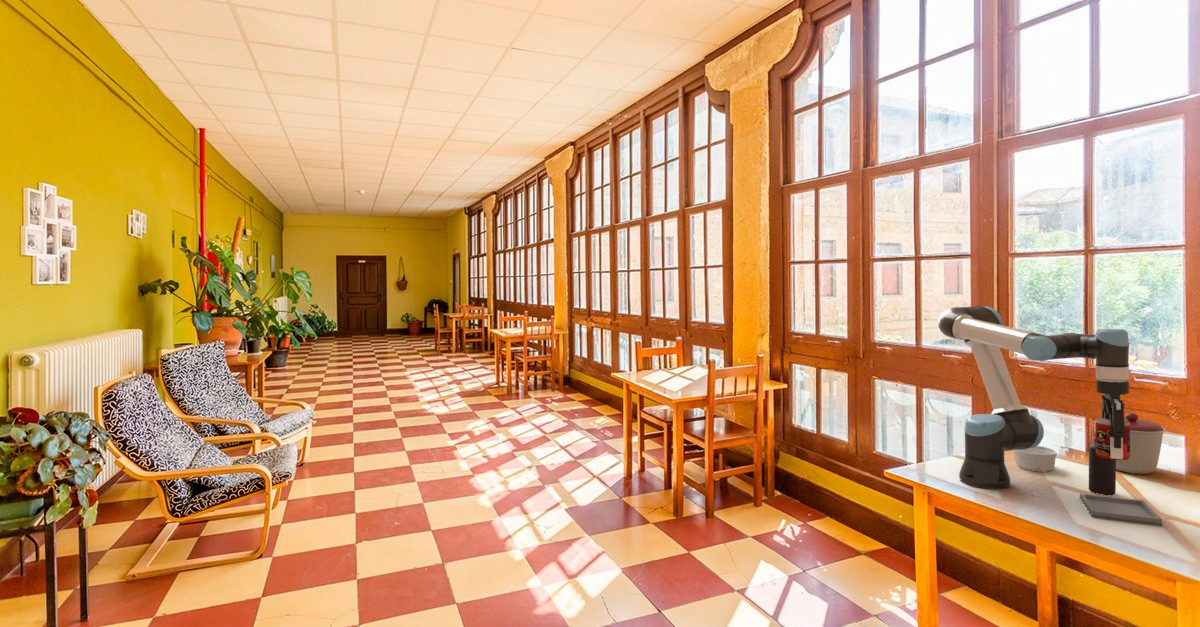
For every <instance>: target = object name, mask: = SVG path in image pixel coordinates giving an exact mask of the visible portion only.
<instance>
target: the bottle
mask: <svg viewBox="0 0 1200 627" xmlns="http://www.w3.org/2000/svg"><path fill="white" fill-rule="evenodd" d="M1092 439H1093V441H1094V442H1093V443H1091V444H1090V445H1089V448H1088V449H1089V450H1088V491H1089V490H1090V491H1089V492H1091V493H1093V492H1094V494H1096V493H1098V494H1097V495H1100V494H1103V495H1102V496H1108V495H1111V496H1116V489H1117V488H1116V486H1117V484H1116V483H1117V482H1116V480H1117V479H1116V478H1117V470H1116V460H1112V459H1106V458H1102V457H1099V456H1097V454H1096V431H1095V430H1094V431H1093V432H1092Z"/></svg>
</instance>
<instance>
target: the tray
mask: <svg viewBox="0 0 1200 627" xmlns="http://www.w3.org/2000/svg"><path fill="white" fill-rule="evenodd" d="M1080 499H1081V501H1082V502H1083V503H1082V502H1081V501H1080V502H1081V503H1082V504H1084V505H1085V506H1084V505H1083V506H1084V508H1085V507H1086V508H1087V509H1086V508H1085V509H1086V511H1087V512H1088V511H1089V512H1088V514H1089V515H1090V514H1091V515H1090V517H1091V518H1093V517H1094V518H1095V519H1100V518H1101V520H1102V519H1103V520H1110V521H1116V522H1124V523H1134V524H1142V525H1148V526H1149V525H1150V526H1156V527H1162V526H1163V519H1162V517H1161V516H1159V515H1158V514H1157V513H1156V511H1154V510H1153V508H1152V507H1151V506H1149V505H1148V504H1147V503H1146V502H1145V500H1144V499H1143V500H1142V499H1132V498H1124V497H1116V496H1114V497H1113V496H1108V495H1099V494H1089V493H1079V500H1080Z"/></svg>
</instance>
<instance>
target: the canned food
mask: <svg viewBox="0 0 1200 627" xmlns="http://www.w3.org/2000/svg"><path fill="white" fill-rule="evenodd" d="M1124 425H1125V437H1123V459H1114V458H1110V437H1109V436H1108V435H1109V434H1111V423H1110V419H1105V418H1102V417H1101V418H1097V419H1095V427H1094V428H1095V430H1094V431H1096V454H1097V456H1099V457H1102V458H1106V459H1112V460H1127V459H1129V457H1130V422H1128V421H1125V420H1124Z"/></svg>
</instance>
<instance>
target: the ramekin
mask: <svg viewBox="0 0 1200 627" xmlns="http://www.w3.org/2000/svg"><path fill="white" fill-rule="evenodd" d="M1012 451H1013V455H1014V461H1015V462H1014V463H1015V465H1017V467H1019V468H1020V469H1022V470H1026V471H1032V472H1037V471H1038V472H1039V473H1040V472H1042V473H1044V472H1043V471H1048V472H1052V471H1053V470H1054V468H1055V465H1056V457H1057V456H1058V455H1057V450H1055V449H1054V448H1050V447H1047V446H1041V445H1037V446H1035V447H1032V448H1028V449H1024V450H1021V449H1020V450H1012Z"/></svg>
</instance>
